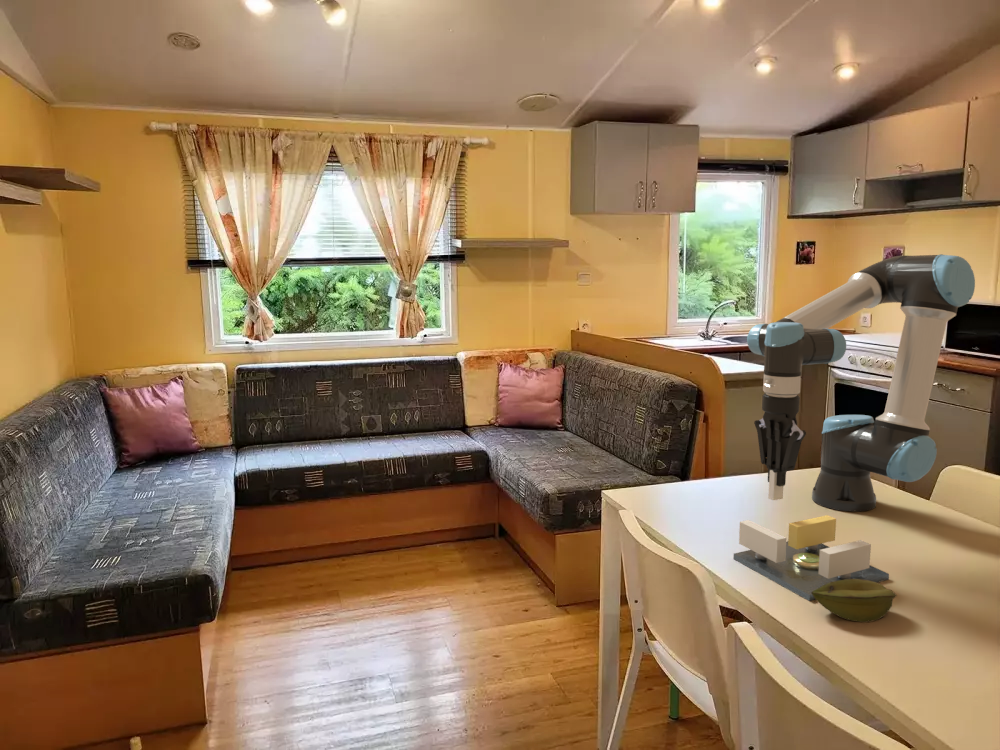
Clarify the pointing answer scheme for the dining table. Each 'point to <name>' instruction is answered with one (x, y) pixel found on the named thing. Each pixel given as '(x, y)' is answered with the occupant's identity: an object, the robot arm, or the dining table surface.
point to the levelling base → (801, 570)
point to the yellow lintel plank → (811, 532)
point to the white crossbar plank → (762, 541)
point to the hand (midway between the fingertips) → (775, 498)
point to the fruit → (855, 599)
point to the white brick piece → (844, 559)
